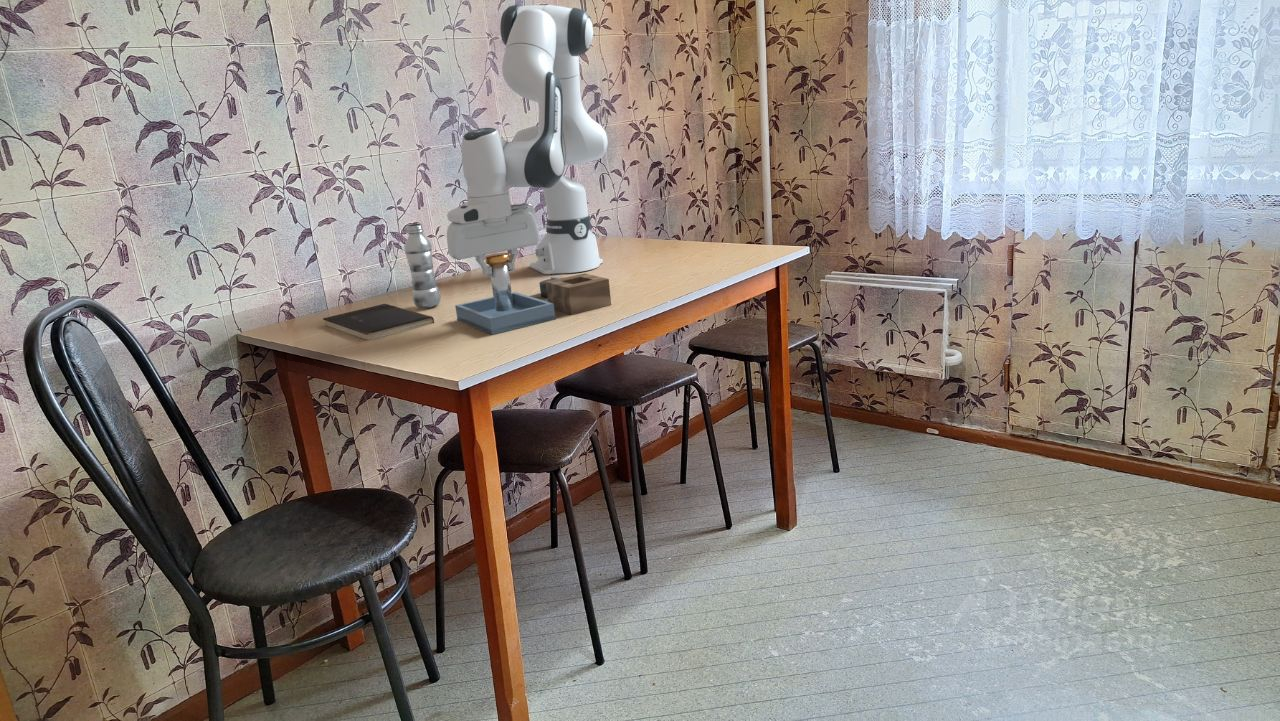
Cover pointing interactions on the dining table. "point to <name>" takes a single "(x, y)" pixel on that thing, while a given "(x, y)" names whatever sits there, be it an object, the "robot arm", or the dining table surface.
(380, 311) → the hardcover book
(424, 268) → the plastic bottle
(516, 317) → the tray
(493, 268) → the pin
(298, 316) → the dining table surface
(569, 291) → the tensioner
